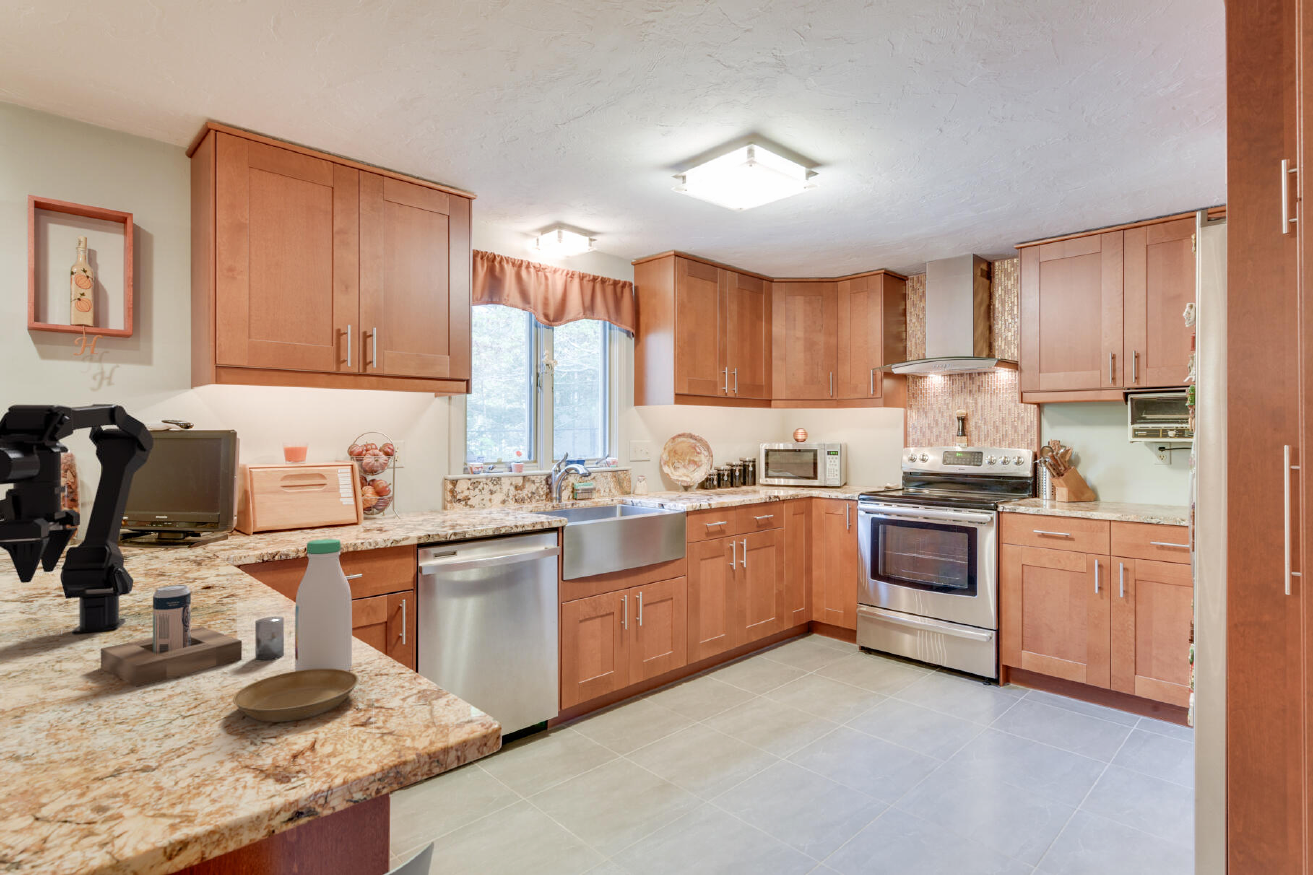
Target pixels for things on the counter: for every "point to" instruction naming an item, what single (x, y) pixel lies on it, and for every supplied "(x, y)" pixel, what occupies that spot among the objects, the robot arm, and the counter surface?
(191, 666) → the walnut collar
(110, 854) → the counter surface
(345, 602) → the milk bottle
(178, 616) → the beer can
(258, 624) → the short steel pin
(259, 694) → the plant saucer
